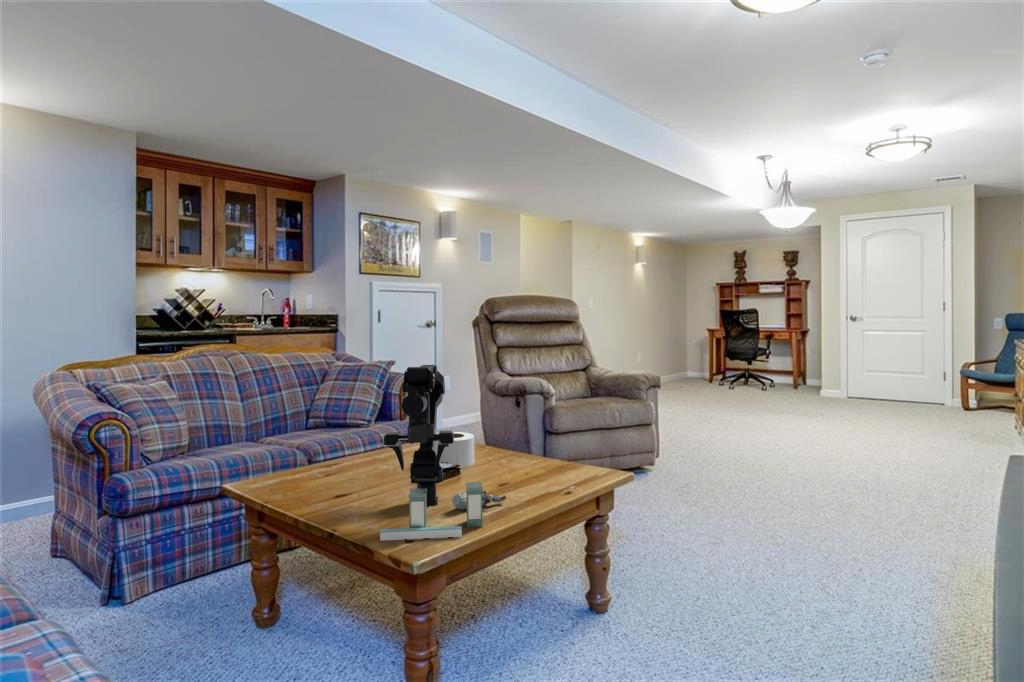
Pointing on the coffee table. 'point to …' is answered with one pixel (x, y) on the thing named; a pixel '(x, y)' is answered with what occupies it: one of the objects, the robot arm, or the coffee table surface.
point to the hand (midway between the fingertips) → (419, 469)
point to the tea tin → (418, 508)
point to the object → (458, 450)
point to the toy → (461, 500)
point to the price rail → (420, 533)
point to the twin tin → (474, 504)
